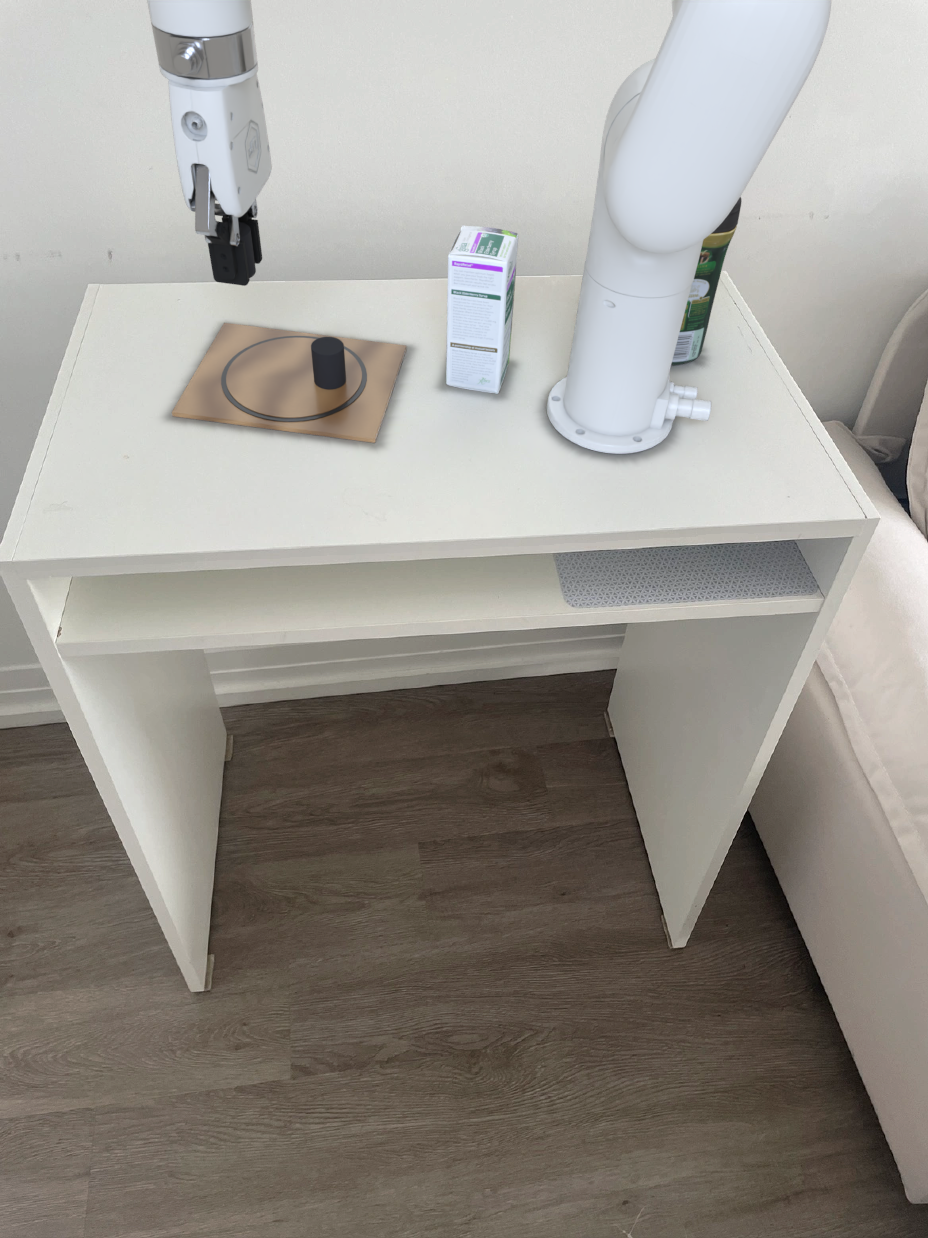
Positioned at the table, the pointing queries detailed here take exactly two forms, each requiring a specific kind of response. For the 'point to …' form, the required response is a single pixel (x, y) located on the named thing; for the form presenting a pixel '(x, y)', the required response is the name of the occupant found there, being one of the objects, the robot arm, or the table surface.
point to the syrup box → (480, 307)
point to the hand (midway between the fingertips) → (238, 269)
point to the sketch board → (290, 384)
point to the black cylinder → (247, 246)
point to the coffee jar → (704, 289)
